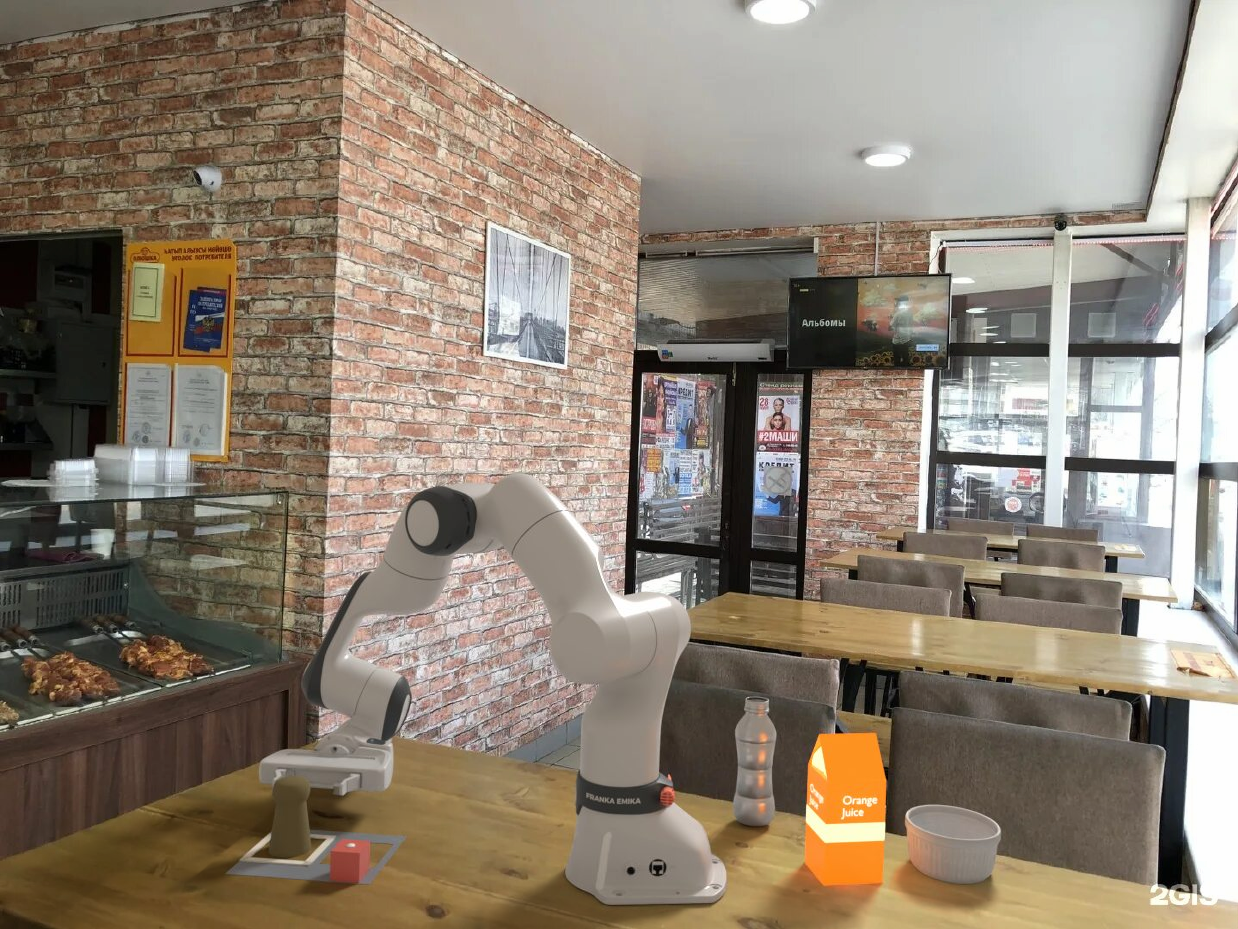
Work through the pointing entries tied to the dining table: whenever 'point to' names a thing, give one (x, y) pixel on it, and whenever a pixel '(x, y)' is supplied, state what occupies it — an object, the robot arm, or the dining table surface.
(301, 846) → the cork
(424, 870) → the dining table surface
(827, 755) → the orange juice
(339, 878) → the red cube
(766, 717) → the plastic bottle
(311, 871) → the grey and white frame
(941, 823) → the ramekin
